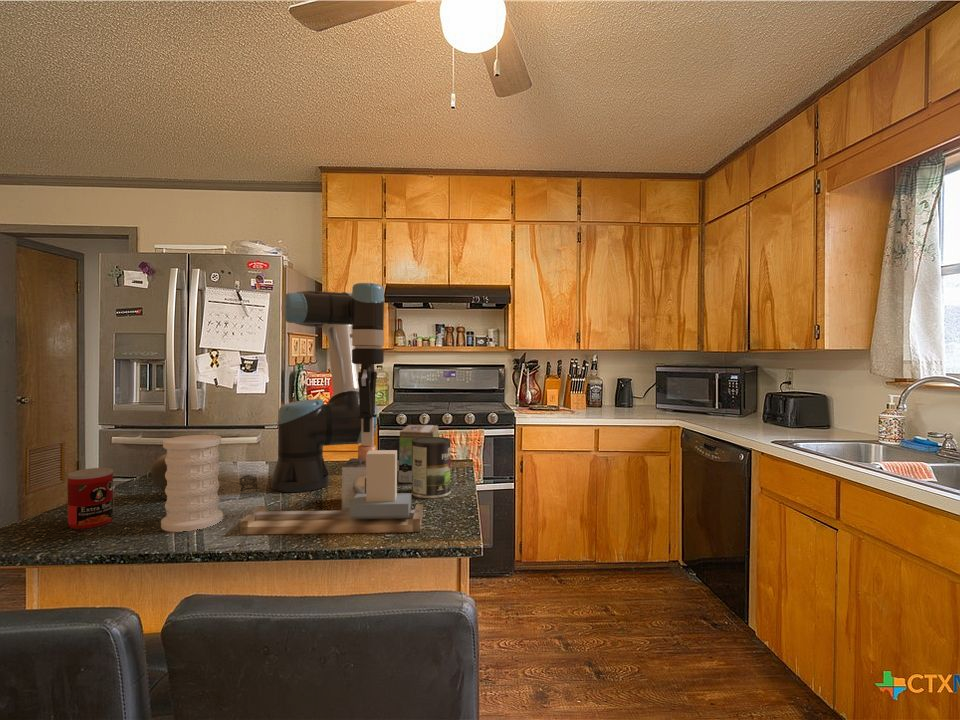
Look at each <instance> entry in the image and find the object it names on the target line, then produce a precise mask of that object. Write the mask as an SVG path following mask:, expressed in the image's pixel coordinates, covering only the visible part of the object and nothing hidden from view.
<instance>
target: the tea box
mask: <svg viewBox="0 0 960 720" xmlns="http://www.w3.org/2000/svg"><path fill="white" fill-rule="evenodd" d="M420 437H439V425H433V424H431V425H429V424H408V425H406V426H405V427H404V428H403V429H401V430H400V431H399V444H398V445H399V447H398V448H399V450H398V453H399V454H398V457H399V458H398V478H397V483H407V484H408V483H409V484H412V439H415V438H420Z"/></svg>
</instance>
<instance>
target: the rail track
mask: <svg viewBox="0 0 960 720" xmlns="http://www.w3.org/2000/svg"><path fill="white" fill-rule="evenodd" d="M423 517H424V504H419V503H418V504H417V503H416V504H415V507H414V509H411V510H410V512H409V518H377V519H351V517H350V510H277V511H275V510H272V511H271V510H267V505H258V506H257V507H256V508H254V509H253V510H252V511H251V512H250V513H248V514H247V515H246V516H245V517H243V518H242V519H241V520H240V521H239V534H240V535H288V534H289V535H291V534H292V535H293V534H294V535H296V534H297V535H298V534H299V535H300V534H303V535H304V534H307V535H308V534H309V535H310V534H361V533H362V534H363V533H364V534H366V533H367V534H368V533H370V534H371V533H378V534H379V533H421V529H422V525H423Z"/></svg>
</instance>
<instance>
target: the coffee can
mask: <svg viewBox="0 0 960 720" xmlns="http://www.w3.org/2000/svg"><path fill="white" fill-rule="evenodd" d="M451 443H452V439H450V438H449V437H444V436H443V437H442V436H438V437H420V438H415V439H412V483H411V496H414V497H416V498H420V499H439V498H445V497H447V496H450V494H451Z"/></svg>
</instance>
